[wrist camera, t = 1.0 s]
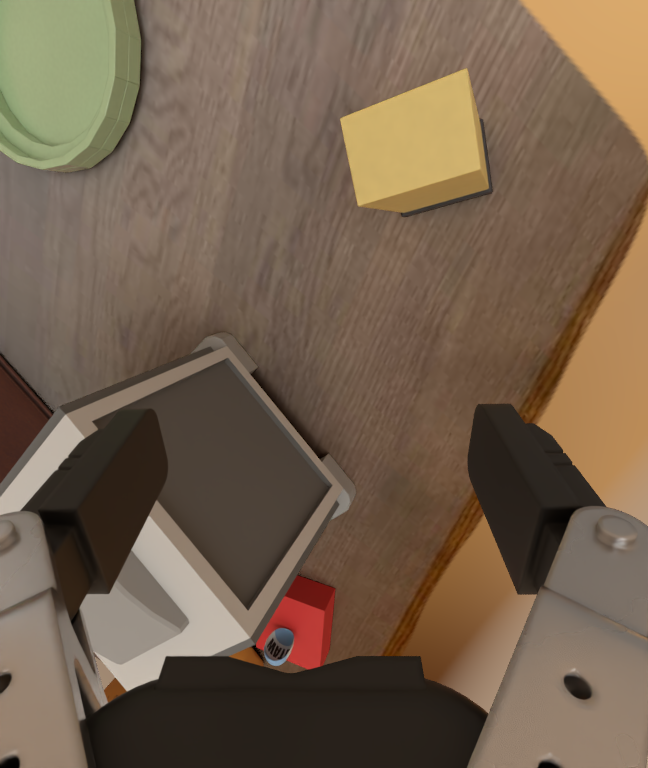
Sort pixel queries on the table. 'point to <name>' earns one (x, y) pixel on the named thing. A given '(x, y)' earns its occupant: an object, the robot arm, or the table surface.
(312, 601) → the red slab
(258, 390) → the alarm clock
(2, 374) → the desk organizer
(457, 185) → the eraser
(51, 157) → the bowl
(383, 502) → the table surface
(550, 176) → the table surface
